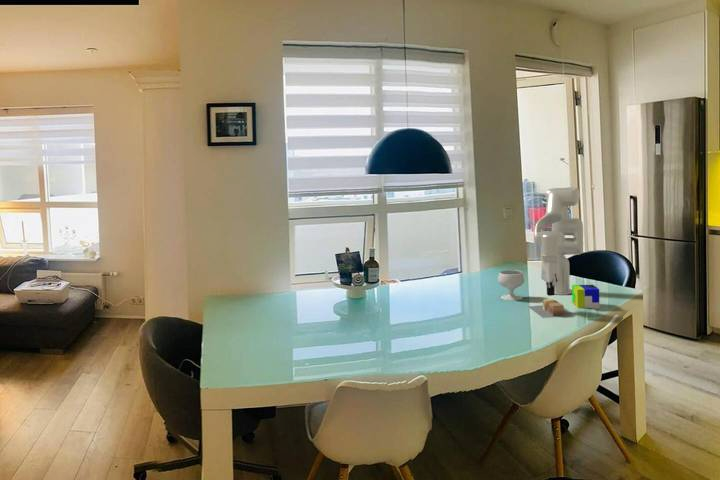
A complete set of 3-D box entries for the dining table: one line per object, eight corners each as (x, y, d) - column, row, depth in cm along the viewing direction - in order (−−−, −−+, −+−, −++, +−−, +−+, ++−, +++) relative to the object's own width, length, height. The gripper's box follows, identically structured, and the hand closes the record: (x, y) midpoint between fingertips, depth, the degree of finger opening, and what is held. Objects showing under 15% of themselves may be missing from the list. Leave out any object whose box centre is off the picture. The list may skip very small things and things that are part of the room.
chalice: (530, 298, 248) (529, 271, 246) (514, 303, 240) (513, 276, 239) (508, 294, 260) (508, 268, 258) (493, 298, 252) (492, 272, 250)
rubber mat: (527, 307, 231) (527, 306, 231) (558, 305, 231) (558, 304, 231) (542, 319, 211) (542, 317, 211) (576, 316, 211) (576, 315, 211)
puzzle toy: (599, 309, 221) (599, 289, 220) (577, 309, 223) (577, 289, 222) (593, 303, 231) (592, 284, 229) (572, 303, 233) (572, 285, 231)
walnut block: (542, 299, 224) (553, 306, 212) (552, 298, 224) (563, 305, 212) (543, 309, 224) (553, 316, 213) (553, 308, 224) (563, 315, 212)
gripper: (536, 256, 225) (537, 292, 228) (548, 261, 210) (549, 299, 213) (551, 255, 225) (551, 291, 227) (564, 260, 210) (565, 298, 213)
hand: (550, 295), depth 220 cm, fingers closed
